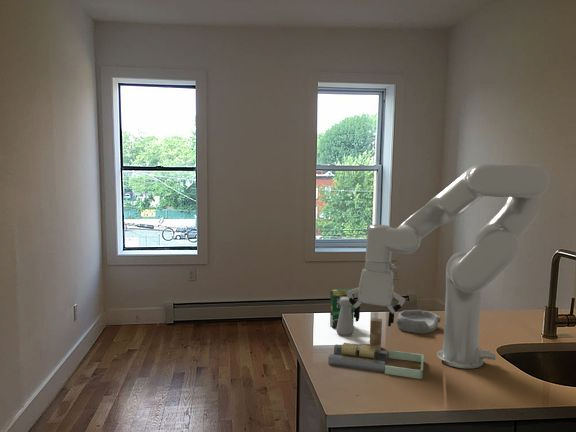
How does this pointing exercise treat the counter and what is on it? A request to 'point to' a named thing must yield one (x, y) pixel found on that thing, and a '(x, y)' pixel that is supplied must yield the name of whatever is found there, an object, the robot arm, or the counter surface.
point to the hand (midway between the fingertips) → (373, 322)
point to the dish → (417, 321)
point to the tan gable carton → (376, 333)
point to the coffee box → (337, 305)
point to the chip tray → (405, 371)
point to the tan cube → (349, 350)
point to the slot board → (358, 360)
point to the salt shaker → (345, 318)
